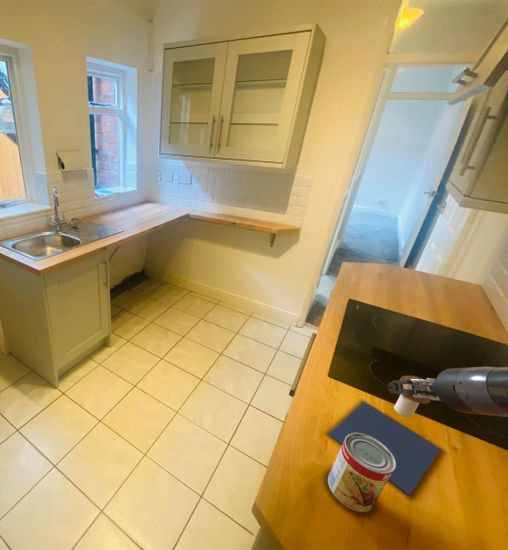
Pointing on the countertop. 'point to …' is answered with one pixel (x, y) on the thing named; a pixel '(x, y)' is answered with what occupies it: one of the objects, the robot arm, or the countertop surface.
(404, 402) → the mushroom
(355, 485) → the canned food
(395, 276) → the countertop surface
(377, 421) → the napkin
